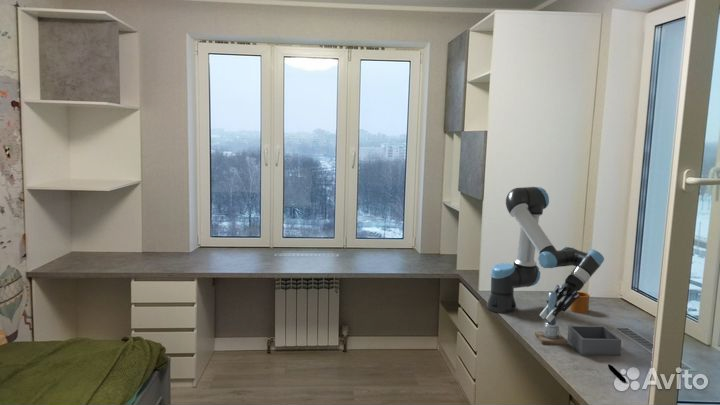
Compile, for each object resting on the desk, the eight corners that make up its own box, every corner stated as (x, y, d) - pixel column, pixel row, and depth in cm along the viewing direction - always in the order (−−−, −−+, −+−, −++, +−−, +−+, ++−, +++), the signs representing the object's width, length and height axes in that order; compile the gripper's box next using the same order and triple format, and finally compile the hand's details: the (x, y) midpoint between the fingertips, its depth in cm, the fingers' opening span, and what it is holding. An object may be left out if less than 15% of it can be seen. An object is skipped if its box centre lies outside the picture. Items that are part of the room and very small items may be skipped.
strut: (542, 331, 236) (544, 291, 234) (555, 331, 236) (557, 291, 234) (546, 336, 231) (548, 294, 228) (559, 336, 231) (562, 295, 228)
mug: (580, 305, 281) (581, 289, 280) (591, 313, 269) (592, 296, 268) (564, 305, 280) (565, 289, 279) (574, 313, 269) (576, 296, 267)
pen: (609, 367, 206) (610, 363, 206) (627, 383, 193) (627, 379, 192) (605, 367, 206) (606, 363, 206) (622, 383, 193) (623, 379, 192)
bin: (567, 340, 233) (568, 325, 232) (603, 341, 232) (604, 326, 231) (581, 355, 217) (582, 339, 216) (620, 356, 216) (621, 339, 215)
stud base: (534, 334, 239) (535, 321, 239) (558, 335, 239) (559, 322, 238) (542, 344, 229) (542, 330, 228) (567, 344, 228) (568, 331, 227)
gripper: (595, 289, 228) (561, 330, 225) (569, 279, 243) (537, 317, 240) (586, 278, 225) (552, 319, 222) (560, 269, 241) (528, 307, 238)
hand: (544, 318), depth 231 cm, fingers closed on strut, 3 cm apart
